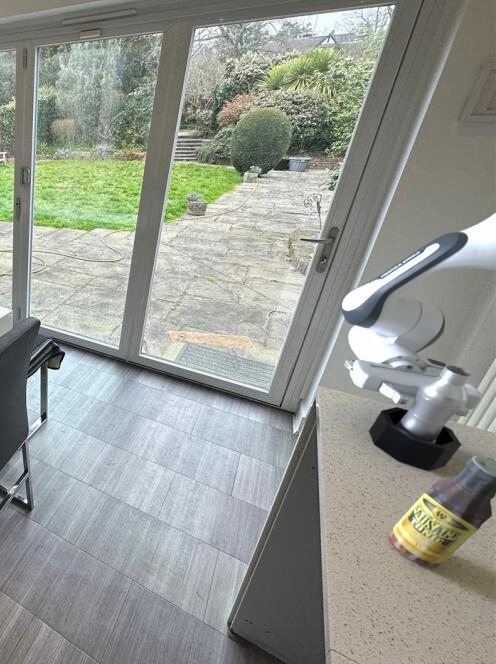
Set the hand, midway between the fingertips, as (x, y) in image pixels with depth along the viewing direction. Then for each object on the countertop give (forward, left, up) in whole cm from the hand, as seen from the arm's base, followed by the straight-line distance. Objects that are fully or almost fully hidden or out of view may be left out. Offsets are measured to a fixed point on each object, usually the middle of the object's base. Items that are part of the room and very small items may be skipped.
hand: (432, 407), depth 80 cm
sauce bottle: (+24, +16, -11) cm, 31 cm away
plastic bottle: (0, 0, -11) cm, 11 cm away
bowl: (0, 0, -11) cm, 11 cm away
